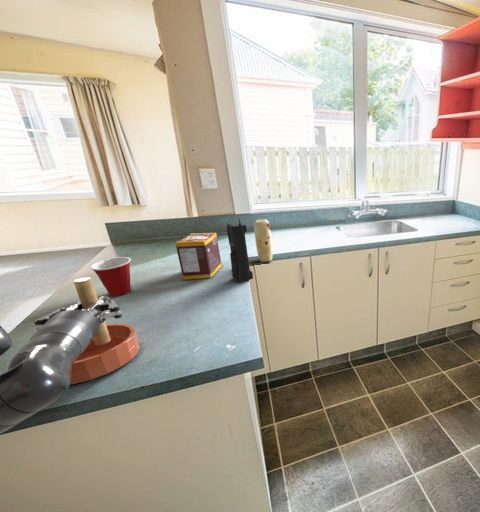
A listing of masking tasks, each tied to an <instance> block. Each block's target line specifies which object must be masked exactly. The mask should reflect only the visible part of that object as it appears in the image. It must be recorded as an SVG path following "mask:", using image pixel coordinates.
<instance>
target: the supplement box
mask: <svg viewBox="0 0 480 512" xmlns="http://www.w3.org/2000/svg"><path fill="white" fill-rule="evenodd" d="M174 245H175V248H176V253H177V256H178V262H179V266H180V271H181V275H182V279H183V280H185V281H186V280H196V279H197V280H198V279H211V278H212V277H213V276H214V275H215V274H216V273H217V272H218V271H219V270H220V268H221V267H222V266H223V265H222V264H223V263H222V260H221V254H220V247H219V241H218V235H217V232H203V233H202V232H201V233H200V232H199V233H189V234H188V235H186V236H184V237H183V238H181V239H179V240H177V241H176V242H175V244H174Z"/></svg>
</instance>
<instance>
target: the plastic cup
mask: <svg viewBox="0 0 480 512" xmlns="http://www.w3.org/2000/svg"><path fill="white" fill-rule="evenodd" d="M131 260H132V258H131V257H127V256H116V257H110V258H106V259H102V260H99V261H97V262H94V263H92V264H91V265H90V266H89V268H90V269H91V270H92V271H93V272H94V273H95V274H96V276H97V277H98V278H99V280H100V282H101V284H102V286H103V287H104V288H105V290H106V292H107V294H109V296H111V297H119V296H123V295H127V294H129V293H130V292H131V287H132V286H131Z"/></svg>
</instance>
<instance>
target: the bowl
mask: <svg viewBox="0 0 480 512" xmlns="http://www.w3.org/2000/svg"><path fill="white" fill-rule="evenodd" d="M106 326H107V329H108V332H109V335H110V338H111V340H110V341H109V342H108V343H106V344H103V345H95V343H94V340H93V339H92V340H91V342H90V343H89V345H88V346H87V348H86V349H85V350H84V352H83V353H82V354H81V355H80V356H79V357H78V358H77V359H76V361H75V362H74V364H73V365H72V372H71V383H70V385H76V384H79V383H84V382H88V381H91V380H94V379H97V378H99V377H102V376H105V375H107V374H109V373H111V372H113V371H115V370H117V369H120V368H121V367H123V366H124V365H126V364H127V363H128V362H130V361H132V360H133V359H134V358H135V356H136V355H137V354H138V353H139V351H140V348H141V346H140V342H139V339H138V335H137V332H136V329H135V327H134V326H133V325H131V324H127V323H110V324H107V323H106Z"/></svg>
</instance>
